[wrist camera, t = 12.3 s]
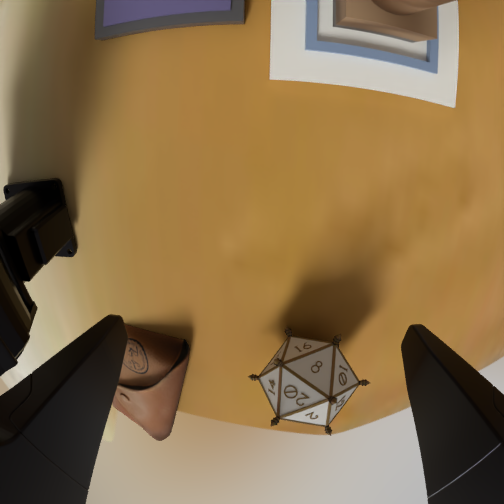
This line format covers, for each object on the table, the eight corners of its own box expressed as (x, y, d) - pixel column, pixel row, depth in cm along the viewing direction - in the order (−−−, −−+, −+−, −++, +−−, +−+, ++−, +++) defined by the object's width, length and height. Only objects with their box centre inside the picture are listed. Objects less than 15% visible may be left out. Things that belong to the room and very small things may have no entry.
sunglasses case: (103, 315, 26) (116, 375, 22) (174, 308, 30) (198, 362, 25) (112, 407, 35) (126, 451, 31) (161, 399, 39) (178, 440, 34)
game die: (282, 325, 31) (212, 394, 24) (329, 284, 24) (247, 371, 18) (343, 385, 29) (286, 461, 23) (402, 359, 23) (344, 460, 16)
